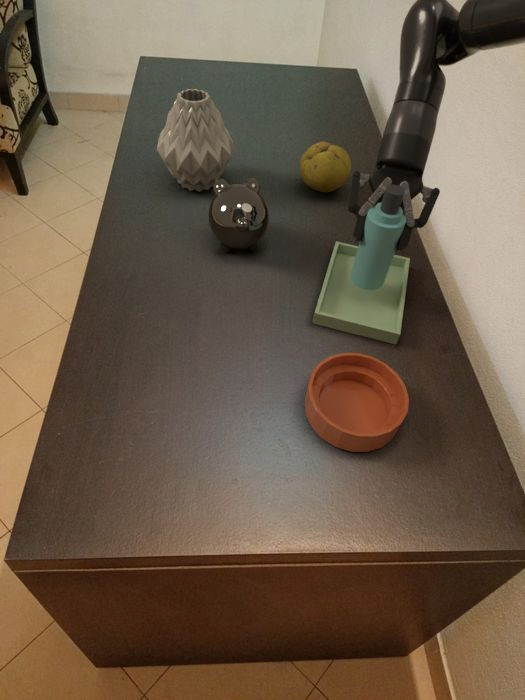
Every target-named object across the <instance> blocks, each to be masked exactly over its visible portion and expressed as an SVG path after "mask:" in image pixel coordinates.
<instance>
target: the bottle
mask: <svg viewBox="0 0 525 700" xmlns="http://www.w3.org/2000/svg"><path fill="white" fill-rule="evenodd" d="M404 193H405V190H404V189H403V188H402V187H401V186H398V185H388V186H387V187H386V190H385V193H384V196H383V200H382V202H381V203H377V204H376V205H375V206H374V207H372V208H371V209H369V211H368V214H367V216H366V217H365V218H366V221H365V225H364V229H363V233H362V236H361V240H360V243H359V242H358V245H357V246H358V249H357V253H356V257H355V260H354V264H353V267H352V271H351V275H350V278H351V281H352V282H353V283H354V284H355V285H356V286H357V287H359V288H361V289H364V290H377V289H379V288H381V287H382V286H383V284H384V281H385V279H386V276H387V273H388V270H389V268H390V265H391V262H392V259H393V256H394V255H396V254H395V253H396V252H397V251H396V249H397V245H398V242H399V240H400V237H401V234H402V231H403V229H404V226H405V223H406V217H405V215H404V213H403V211H402V209H401V207H400V205H401V202H402V199H403V196H404Z"/></svg>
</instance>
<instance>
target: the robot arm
mask: <svg viewBox="0 0 525 700" xmlns="http://www.w3.org/2000/svg"><path fill="white" fill-rule="evenodd" d="M522 44H525V0H466V1H465V2H464V3H463V5H462V6H461V8H460V10H458V9H456V8H455V6H453V5H452V4H451V3H450V2H449V1H448V0H416V1H415V2H414V3H413V4H412V5H411V7H410V8H409V9H408V11H407V13H406V16H405V18H404V20H403V24H402V28H401V31H400V41H399V66H398V67H399V81H398V86H397V87H396V92H395V97H394V100H393V104H392V107H391V111H390V113H389V115H388V118H387V121H386V124H385V127H384V131H383V134H382V138H381V142H380V147H379V150H378V154H377V158H376V161H375V166H374V168H373V170H372V171H371V172H370V173H361V172H360V171H358V170H356V171H355V170H354V171H353V172H352V177H351V186H350V193H349V201H348V209H347V210H348V212H349V214H350V213H351V214H353V215H354V216H355V217H356V222H355V224H354V229H353V232H352V238H353V239H355V243H358V244H359V243H360V240H361V236H362V233H363V229H364V225H365V221H366V217H367V214H368V211H369V209H371V208H372V207H374V206H376V205H377V204H378V203H381V202H382V200H383V196H384V193H385V190H386V187H387V186H388V185H398V186H401V187H402V188H403V189H404V190H405V193H404V196H403V199H402V202H401V205H400V207H401V209H402V211H403V213H404V215H405V217H406V223H405V226H404V229H403V231H402V234H401V237H400V240H399V242H398V245H397V248H396V251H395V252H398V253H402V251H403V250H405V249H406V248H407V247H408V246H409V242H410V239H411V235H412V231H413V230H414V229H423V227H424V226H426V225H427V223H428V222H429V219H430V217H431V215H432V212H433V210H434V207H435V205H436V203H437V200H438V198H439V196H440V193H441V190H440V188H438V187H434V188H431V187H429V186H426V185H424V182H423V176H424V173H425V168H426V165H427V161H428V158H429V155H430V151H431V148H432V143H433V139H434V136H435V134H436V133H435V132H436V128H437V122H438V116H439V112H440V108H441V104H442V102H443V98H444V94H445V89H446V85H447V79H446V76H445V74H444V71H443V70H442V68H441V67H447V66H453V65H455V64H457V63H459V62H462V61H464V60H466V59H468V58H469V57H472V56H474V55H476V54H477V53H479V52H481V51H487V50H488V51H489V50H493V49H501V48H505V47H506V48H507V47H512V46H517V45H522ZM366 183H368V184H369V187H370V189H371V192H372V194H371V196H370V197H369V198H368V199H367V201H366V202H365V203H364V204H363V206H360V205H358V198H359V191H360V190H359V189H363V188H364V187H365V185H366ZM419 194H421V195H422V198H421V199H422V202H423V203H424V205H423V206H422V207H423V208H422V210H421V212H420V215H419V216H418V218H415V217H414V212H413V211H414V210H413V204H412V200H414V198H416V197H417V196H418V195H419Z"/></svg>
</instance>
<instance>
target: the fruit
mask: <svg viewBox="0 0 525 700" xmlns="http://www.w3.org/2000/svg"><path fill="white" fill-rule="evenodd" d="M351 169H352V162H351V158H350V155H349V154H348V152H347V151H346V149H344V148H343V147H342V146H339V145H336V144H332V143H331V142H327V141H318V142H317V143H313V144H312V145H311V146H310V147H309V148H307V150H306V151H305V152H304V153H303V154H302V157H301V159H300V160H299V172H300V178H301V180H302V182H303V183H304V184H305V185H306V186H308V187H309V188H310V189H312V190H314V191H317V192H320V193H330V192H333V191H336V190H338V189H339V188H341V187H342V186H343V185H344V184H345V183H346V182H347V180H348V178H349V175H350V173H351Z"/></svg>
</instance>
